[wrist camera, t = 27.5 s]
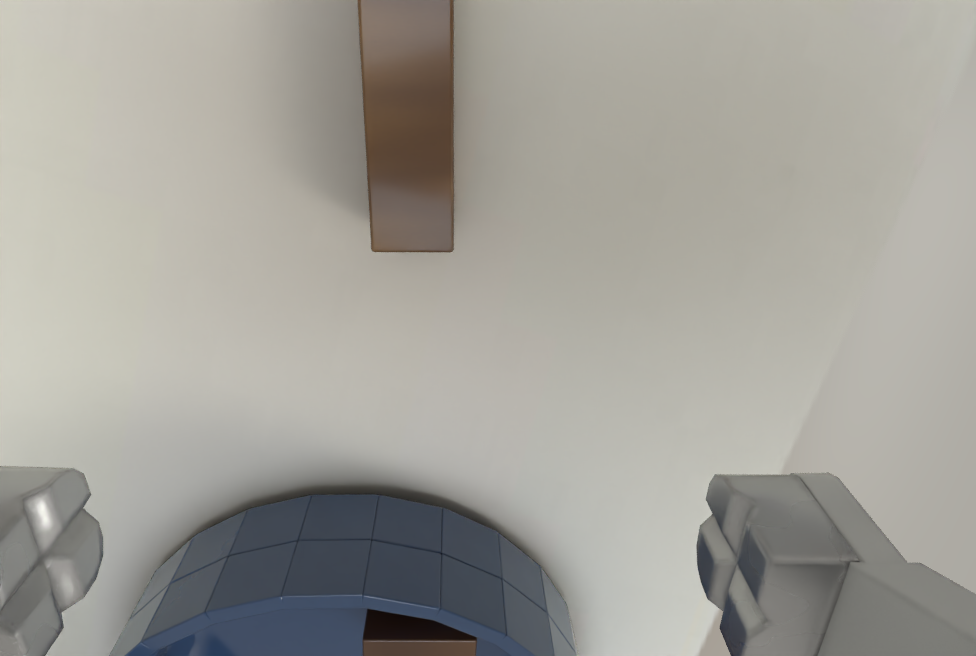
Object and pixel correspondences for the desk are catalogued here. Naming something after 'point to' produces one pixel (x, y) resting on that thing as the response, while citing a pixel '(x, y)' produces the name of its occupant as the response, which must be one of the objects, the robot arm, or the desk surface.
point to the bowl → (344, 583)
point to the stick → (409, 122)
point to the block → (413, 637)
